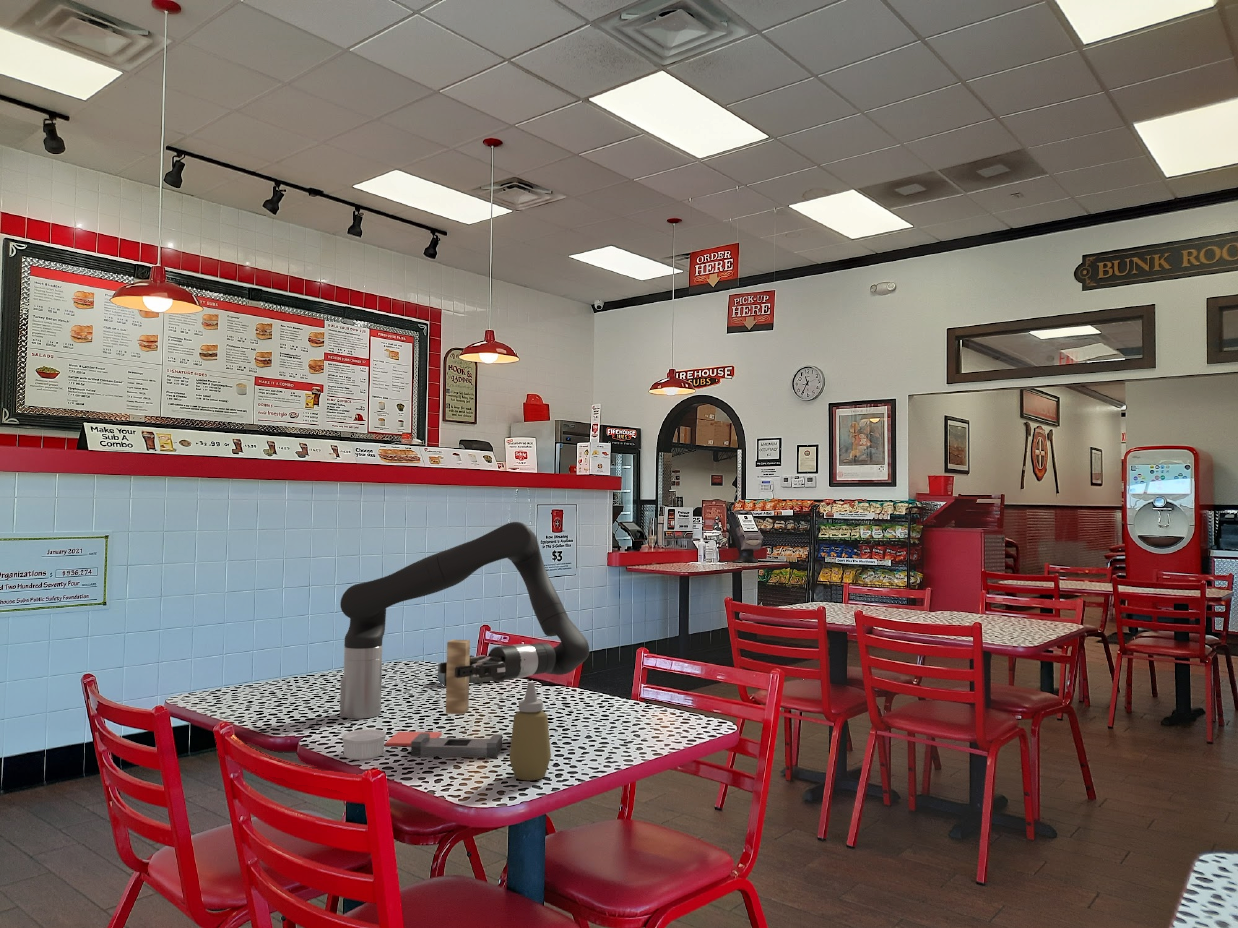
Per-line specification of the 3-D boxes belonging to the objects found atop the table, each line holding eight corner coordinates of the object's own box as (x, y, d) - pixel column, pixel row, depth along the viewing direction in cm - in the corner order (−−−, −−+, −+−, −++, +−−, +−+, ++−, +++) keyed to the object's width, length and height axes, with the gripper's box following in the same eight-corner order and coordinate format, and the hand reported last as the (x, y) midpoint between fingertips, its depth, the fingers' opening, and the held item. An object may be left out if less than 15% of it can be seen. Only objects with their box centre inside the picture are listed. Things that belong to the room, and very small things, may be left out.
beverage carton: (436, 683, 257) (436, 661, 257) (496, 677, 266) (497, 656, 266) (443, 687, 250) (444, 665, 250) (505, 682, 259) (505, 660, 259)
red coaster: (384, 745, 186) (385, 742, 186) (398, 733, 196) (398, 731, 196) (430, 746, 185) (430, 743, 185) (441, 734, 195) (441, 732, 195)
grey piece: (411, 755, 178) (411, 741, 178) (420, 746, 185) (420, 732, 185) (496, 757, 177) (496, 742, 177) (502, 748, 184) (502, 734, 184)
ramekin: (391, 756, 178) (391, 735, 178) (348, 763, 173) (348, 741, 173) (378, 747, 185) (378, 726, 185) (336, 753, 180) (337, 732, 181)
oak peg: (445, 713, 180) (447, 642, 181) (450, 709, 184) (451, 639, 185) (464, 713, 180) (465, 642, 180) (468, 709, 183) (469, 639, 184)
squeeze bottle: (544, 784, 160) (545, 687, 161) (503, 781, 161) (504, 685, 162) (555, 771, 167) (556, 679, 169) (516, 769, 169) (517, 677, 170)
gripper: (495, 641, 197) (430, 648, 186) (532, 648, 187) (466, 657, 175) (494, 673, 197) (430, 683, 185) (531, 683, 186) (465, 693, 175)
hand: (448, 670), depth 180 cm, fingers closed on oak peg, 5 cm apart
